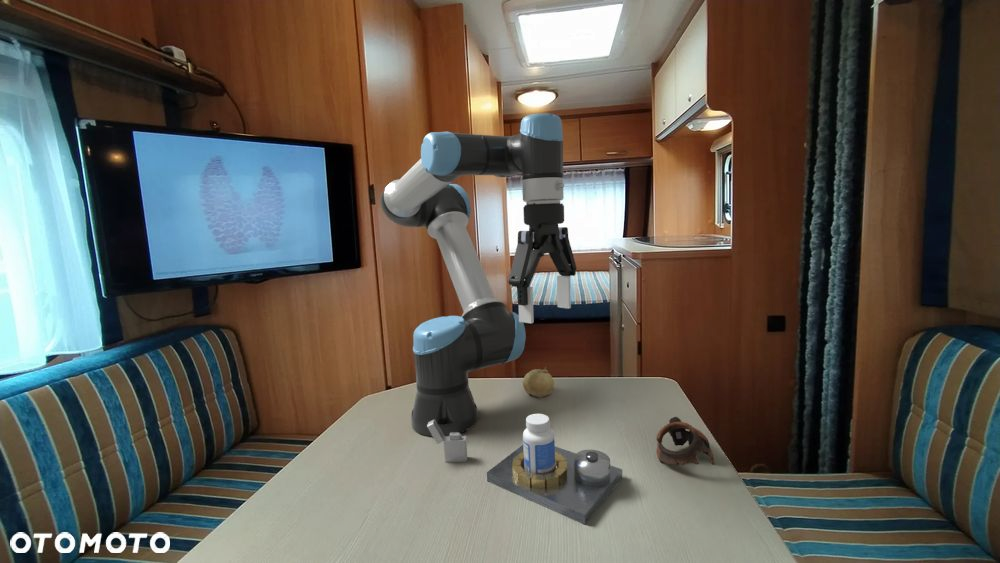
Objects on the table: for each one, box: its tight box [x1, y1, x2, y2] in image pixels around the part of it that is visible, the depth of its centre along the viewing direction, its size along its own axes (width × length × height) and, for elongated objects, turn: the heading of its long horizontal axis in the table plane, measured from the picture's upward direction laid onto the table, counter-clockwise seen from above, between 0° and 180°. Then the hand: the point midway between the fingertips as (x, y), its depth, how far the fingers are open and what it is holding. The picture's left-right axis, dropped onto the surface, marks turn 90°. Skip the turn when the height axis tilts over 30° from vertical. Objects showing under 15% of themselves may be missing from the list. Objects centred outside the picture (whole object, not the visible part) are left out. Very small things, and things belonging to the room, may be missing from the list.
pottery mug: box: [656, 416, 715, 467], centre depth 80 cm, size 12×10×8 cm
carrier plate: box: [486, 444, 623, 525], centre depth 75 cm, size 19×14×5 cm
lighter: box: [427, 419, 468, 463], centre depth 83 cm, size 7×2×8 cm, turn 88°
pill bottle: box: [522, 413, 556, 475], centre depth 75 cm, size 6×5×10 cm
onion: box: [522, 366, 555, 398], centre depth 111 cm, size 8×8×7 cm
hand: (546, 314), depth 83 cm, fingers open, 13 cm apart
